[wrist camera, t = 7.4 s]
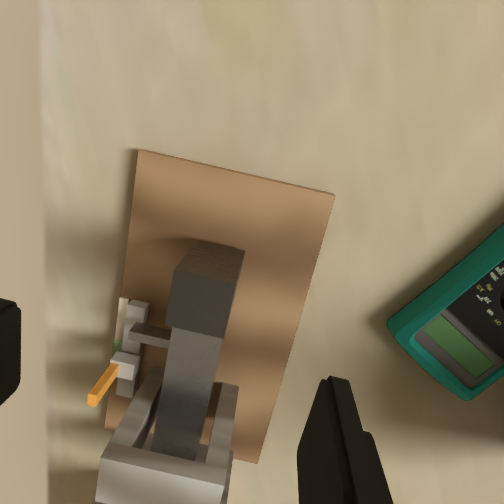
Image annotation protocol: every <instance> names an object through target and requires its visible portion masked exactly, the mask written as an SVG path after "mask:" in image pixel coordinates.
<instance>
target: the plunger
mask: <svg viewBox="0 0 504 504" xmlns="http://www.w3.org/2000/svg"><path fill="white" fill-rule="evenodd" d="M244 255H245V251H244V250H239V249H235V248H231V247H227V246H222V245H218V244H214V243H209V242H205V241H201V240H197V242H196V243H195V244H194V245H193V247H192V248H191V249H190V250H189V251H188V253H187V254H186V255H185V256H184V258H183V259H182V260H181V261H180V263H179V264H178V265H177V266H176V267H175V269H174V271H173V277H172V283H171V289H170V295H169V301H168V307H167V313H166V319H165V326H169V327H172V330H170V329H165V328H161V327H157V326H152V325H148V324H144V323H139V322H136V323H135V324H134V325H133V326H132V328H131V329H130V330H129V334H128V340H132V341H136V342H140V343H145V344H149V345H153V346H158V347H162V348H167V349H168V355H167V360H166V366H165V372H164V378H163V383H162V389H161V395H160V400H159V406H158V412H157V418H156V423H155V429H154V435H153V440H152V446H151V452H156V453H160V454H165V455H169V456H173V457H178V458H182V459H187V460H191V461H195V459H196V455H197V451H198V447H199V443H200V439H201V435H202V432H203V428H204V423H205V419H206V414H207V410H208V405H209V401H210V397H211V392H212V388H213V383H214V379H215V374H216V370H217V366H218V361H219V357H220V352H221V348H222V343H223V339H224V336H225V333H226V329H227V325H228V321H229V317H230V313H231V310H232V306H233V302H234V298H235V294H236V290H237V286H238V281H239V277H240V272H241V268H242V264H243V259H244Z"/></svg>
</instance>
